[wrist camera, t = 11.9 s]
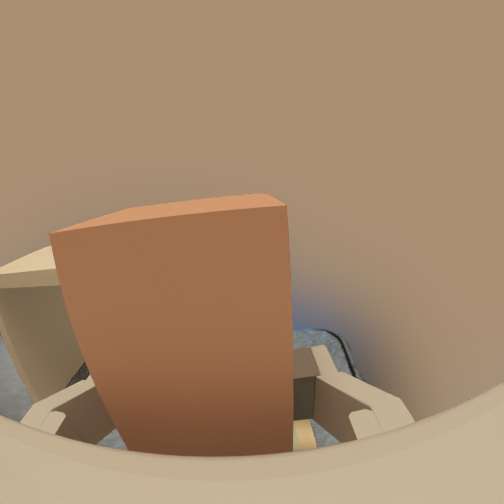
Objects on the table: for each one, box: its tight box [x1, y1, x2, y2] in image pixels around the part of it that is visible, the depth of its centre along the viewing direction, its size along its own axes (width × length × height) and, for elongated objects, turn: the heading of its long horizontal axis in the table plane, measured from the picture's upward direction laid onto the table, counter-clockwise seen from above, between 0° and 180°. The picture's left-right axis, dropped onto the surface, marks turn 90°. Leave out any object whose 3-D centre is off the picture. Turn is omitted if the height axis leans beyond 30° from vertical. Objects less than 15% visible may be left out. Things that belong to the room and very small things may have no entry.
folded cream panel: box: [0, 246, 85, 403], centre depth 29 cm, size 14×24×18 cm, turn 92°
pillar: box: [49, 193, 294, 457], centre depth 8 cm, size 4×4×13 cm
